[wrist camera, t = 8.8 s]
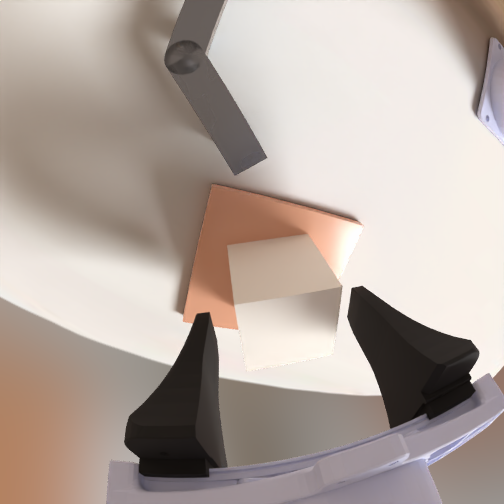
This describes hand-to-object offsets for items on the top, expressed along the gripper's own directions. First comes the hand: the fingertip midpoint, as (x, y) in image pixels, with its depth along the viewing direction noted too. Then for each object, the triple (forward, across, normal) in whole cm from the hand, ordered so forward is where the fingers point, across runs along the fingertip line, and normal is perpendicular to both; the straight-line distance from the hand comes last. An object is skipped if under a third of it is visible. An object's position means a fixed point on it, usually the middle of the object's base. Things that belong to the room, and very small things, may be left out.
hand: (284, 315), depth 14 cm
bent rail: (+4, +1, -12) cm, 13 cm away
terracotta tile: (+4, 0, 0) cm, 4 cm away
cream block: (+3, 0, 0) cm, 4 cm away
